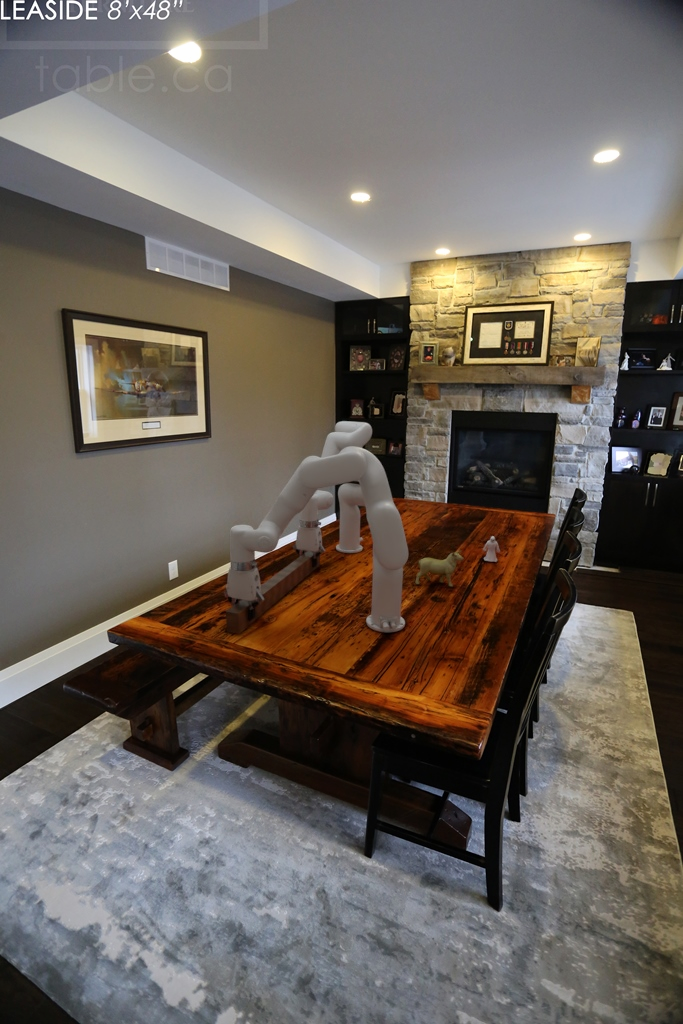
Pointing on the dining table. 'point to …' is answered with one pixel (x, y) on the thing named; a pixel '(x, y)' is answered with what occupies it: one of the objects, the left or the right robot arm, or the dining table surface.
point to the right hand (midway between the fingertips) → (244, 617)
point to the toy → (439, 567)
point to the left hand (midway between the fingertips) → (308, 565)
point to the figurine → (491, 550)
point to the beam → (271, 592)
